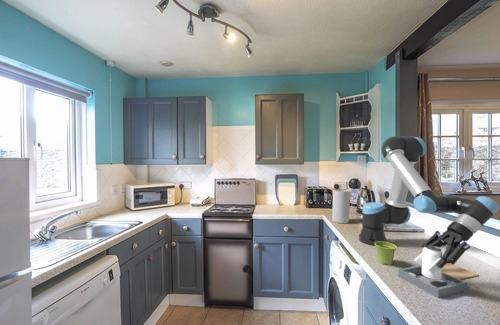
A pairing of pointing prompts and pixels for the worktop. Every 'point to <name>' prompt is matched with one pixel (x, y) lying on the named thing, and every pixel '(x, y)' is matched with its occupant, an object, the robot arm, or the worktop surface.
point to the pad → (457, 272)
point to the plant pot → (385, 252)
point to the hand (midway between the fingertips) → (423, 266)
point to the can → (431, 261)
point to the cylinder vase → (341, 206)
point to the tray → (451, 288)
